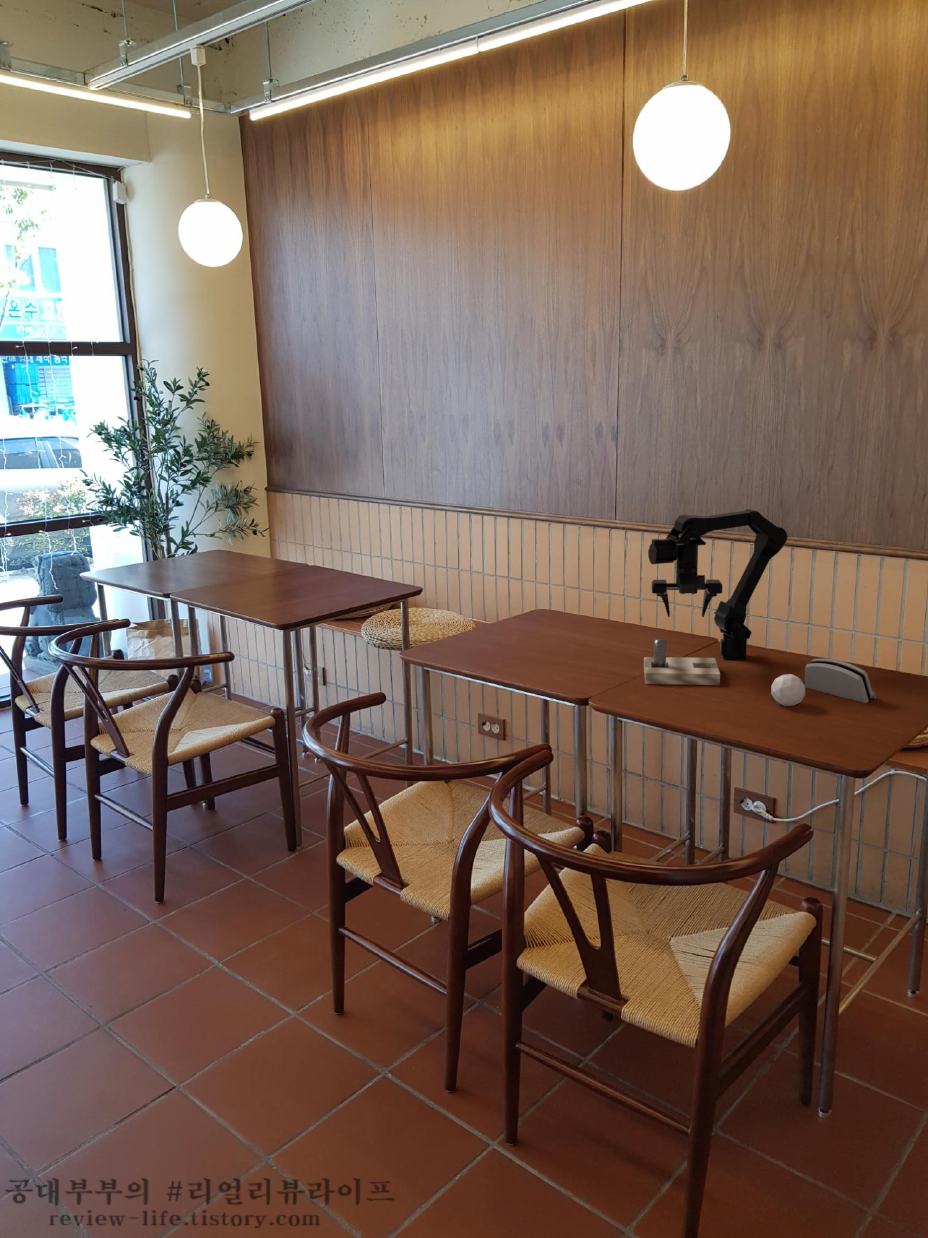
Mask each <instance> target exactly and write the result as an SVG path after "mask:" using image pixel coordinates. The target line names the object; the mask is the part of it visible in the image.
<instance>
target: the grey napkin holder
mask: <svg viewBox="0 0 928 1238" xmlns="http://www.w3.org/2000/svg"><path fill="white" fill-rule="evenodd" d="M804 685H805V689H806V688H807V689H809V688H810V690H813V689H815V690H814V691H818V692H821V691H822V692H821V693H825V694H828V693H829V695H832V694H833V696H837V697H841V698H844V699H848V700H851V699H852V701H856V702H860V703H864V704H867V703H868V702H869V699H876V692H875V691H873V690H872V686H871V682H870V679H869V675H868V673H867V671H865V670H863V669H862V668H860V667H858V666H855V665H853V664H851V663H848V662H845V661H841V660H838V659H834V658H814V659H812V660H810V661H809V663H807V664H806V665H805V667H804Z"/></svg>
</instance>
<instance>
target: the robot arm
mask: <svg viewBox="0 0 928 1238" xmlns="http://www.w3.org/2000/svg"><path fill="white" fill-rule="evenodd" d="M746 526H747V527H748V528H749V529H750V530H751V532H753V533H754V534H755V538H754V541H753V553H752V555H751V557H750V559H749V560H748V563H747V565H746V566H745V569H744V571H743V573H742V575H741V576H740V579H739V581H738V583H737V584H736V587H735V589H734V591H733V593H732V595H731V596H730V598H729V599H728V600H726V602H724V601H723V600H720V602H719V603H718V606H717V608H716V610H715V611H714V612H713V614H714V618H713V620H714V623H715V625H716V627H718V628H719V629H718V630H719V632H720V633H721V634H722V638H721V639H720V641H719V642H720V643H719V644H720V645H719V646H720V647H719V649H720V650H719V653H720V656H722V658H723V660H748V656H747V647H748V646H747V645H748V640H749V639H750V637H751V636H752V631H751V630H750V628H749V627H748V626H746V624H745V621H746V619H747V607H748V604H749V601H750V600H751V598H752V596H753V595H754V592H755V590H756V588H757V586H758V584H759V582H760V580H761V578H762V576H763V573H764V572H765V570H766V568H767V567H768V565H769V562H770V561H771V559H773V557H775V556H776V555H777V554H779V552H780V551H781V550H782V549H783V547H784V546H785V544H786V543H787V541H788V538H789V537H788V533H787V531H786V530H785V528H783V527H780V526H778V525H776V524H774V523H773V522H771V521H770V520H769V519H767V518H766V517H764V515H763V514H761V513H760V511H757V510H754V509H751V508H750V509H749V508H747V509H745V510H739V511H734V512H727V513H719V514H711V515H696V514H682V515H679V516H678V517H677V518H676V520H675V522H674V525H673V526H672V528H671V530H670V531H669V532H668V534H667V535H666V537H665V538H662V539H661V538H660V539H659V538H652V539H651V543H650V545H649V548H648V549H647V554H648V555H647V556H648V560H649V563H650V564H651V565H662V564H664V565H665V564H673V563H674V562H675V561H676V562H675V563H676V567H675V582H667V580H666V579H653V580H652V581H651V593H652V594H655V595H656V597H660V598H661V600H662V602H663V604H664V607H665V611H666V614H667V617H668V618H670V617H671V614H670V613H671V611H670V604H669V594H668V591H678V592H679V594H681V595H685V594H692V595H696V594H698V591H702V590H703V591H704V592H703V600H702V607H701V608H702V609H701V618H704V617H705V614H706V612H707V609H708V607H709V604H710V603H711V601H712V599H713V598H714V597H718V594H719V595H720V594H723V583H722V581H721V580H719V579H706V575H705V574H700V575H699V574H698V573H699V571H698V570H699V569H698V565H699V564H698V563H699V562H698V561H699V546H705V545H707V542H706V541H705V540H703V539H702V536H705V535H707V534H709V533H711V532H714V531H719V530H727V529H728V530H729V529H733V528H741V527H746Z"/></svg>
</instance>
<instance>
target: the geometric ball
mask: <svg viewBox="0 0 928 1238" xmlns="http://www.w3.org/2000/svg"><path fill="white" fill-rule="evenodd" d="M770 688H771V690H770V691H771V696H772V697H773V699H774V700H775V702H776V703H778V704H780V705H782V706H783V707H792V706H795V705H797V704H799V703H801V702H802V700H803V699H804V698H805V695H806V688H805V683H803V681H802V679H801V678H800V677H798V676H796V675H794V673H793V674H790V673H788V674H782V675H780V676H778V677H776V678H775V679H774V680H773V682H772V684H771V686H770Z"/></svg>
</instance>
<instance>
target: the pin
mask: <svg viewBox="0 0 928 1238" xmlns="http://www.w3.org/2000/svg"><path fill="white" fill-rule="evenodd" d="M653 641H654V643H653V644H654V645H653V657H654V668H666V657H667V639H666V638H655V639H654V640H653Z"/></svg>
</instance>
